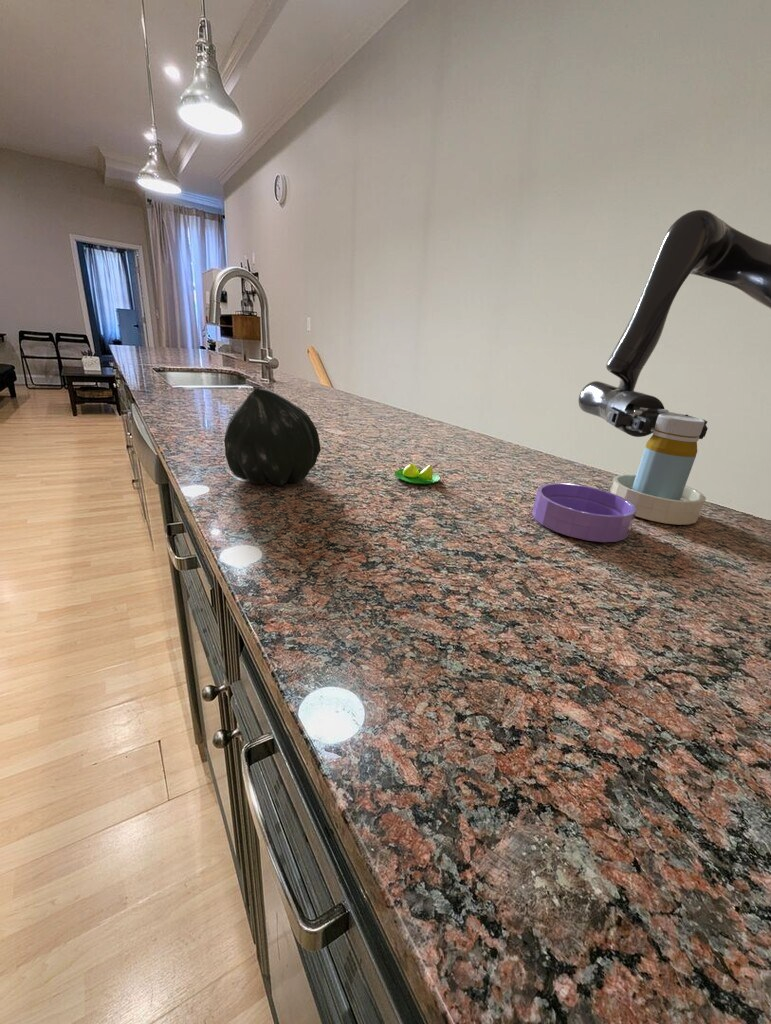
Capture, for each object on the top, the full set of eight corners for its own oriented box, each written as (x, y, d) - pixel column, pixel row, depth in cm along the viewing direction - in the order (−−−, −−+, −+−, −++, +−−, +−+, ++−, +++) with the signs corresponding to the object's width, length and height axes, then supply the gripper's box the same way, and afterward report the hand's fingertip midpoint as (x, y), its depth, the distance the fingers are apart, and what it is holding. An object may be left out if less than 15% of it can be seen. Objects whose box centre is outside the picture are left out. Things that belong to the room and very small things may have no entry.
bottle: (682, 512, 73) (716, 421, 68) (662, 519, 69) (695, 423, 64) (640, 498, 78) (668, 412, 73) (619, 503, 75) (647, 413, 69)
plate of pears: (441, 476, 81) (443, 461, 80) (436, 489, 74) (438, 473, 73) (399, 469, 83) (400, 454, 82) (389, 482, 75) (391, 466, 74)
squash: (333, 436, 79) (274, 366, 72) (339, 464, 66) (268, 381, 59) (272, 484, 81) (209, 420, 74) (266, 521, 68) (189, 447, 61)
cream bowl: (619, 490, 83) (625, 470, 81) (702, 513, 75) (711, 490, 73) (596, 506, 73) (603, 483, 72) (688, 534, 65) (698, 509, 64)
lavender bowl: (552, 500, 74) (558, 477, 72) (638, 527, 66) (646, 502, 65) (516, 520, 65) (522, 494, 63) (611, 553, 57) (620, 525, 55)
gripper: (600, 388, 84) (634, 400, 69) (678, 396, 83) (731, 410, 68) (589, 428, 87) (620, 447, 72) (665, 436, 86) (713, 458, 71)
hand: (674, 429), depth 70 cm, fingers open, 8 cm apart
